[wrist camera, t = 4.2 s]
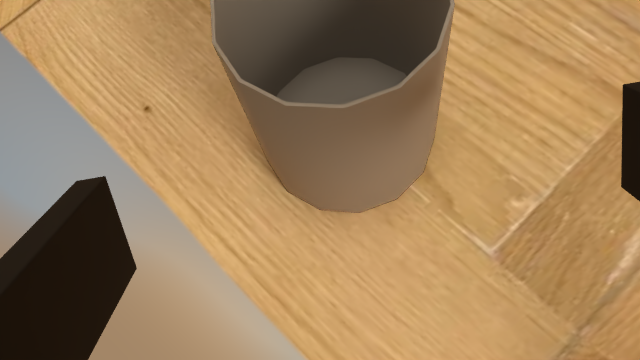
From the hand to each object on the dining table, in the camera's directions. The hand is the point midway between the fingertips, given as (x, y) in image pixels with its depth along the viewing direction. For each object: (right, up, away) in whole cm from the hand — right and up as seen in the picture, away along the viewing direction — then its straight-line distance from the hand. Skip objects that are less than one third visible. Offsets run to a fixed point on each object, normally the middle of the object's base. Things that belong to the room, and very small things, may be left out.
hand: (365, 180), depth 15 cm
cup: (0, +2, +15) cm, 15 cm away
